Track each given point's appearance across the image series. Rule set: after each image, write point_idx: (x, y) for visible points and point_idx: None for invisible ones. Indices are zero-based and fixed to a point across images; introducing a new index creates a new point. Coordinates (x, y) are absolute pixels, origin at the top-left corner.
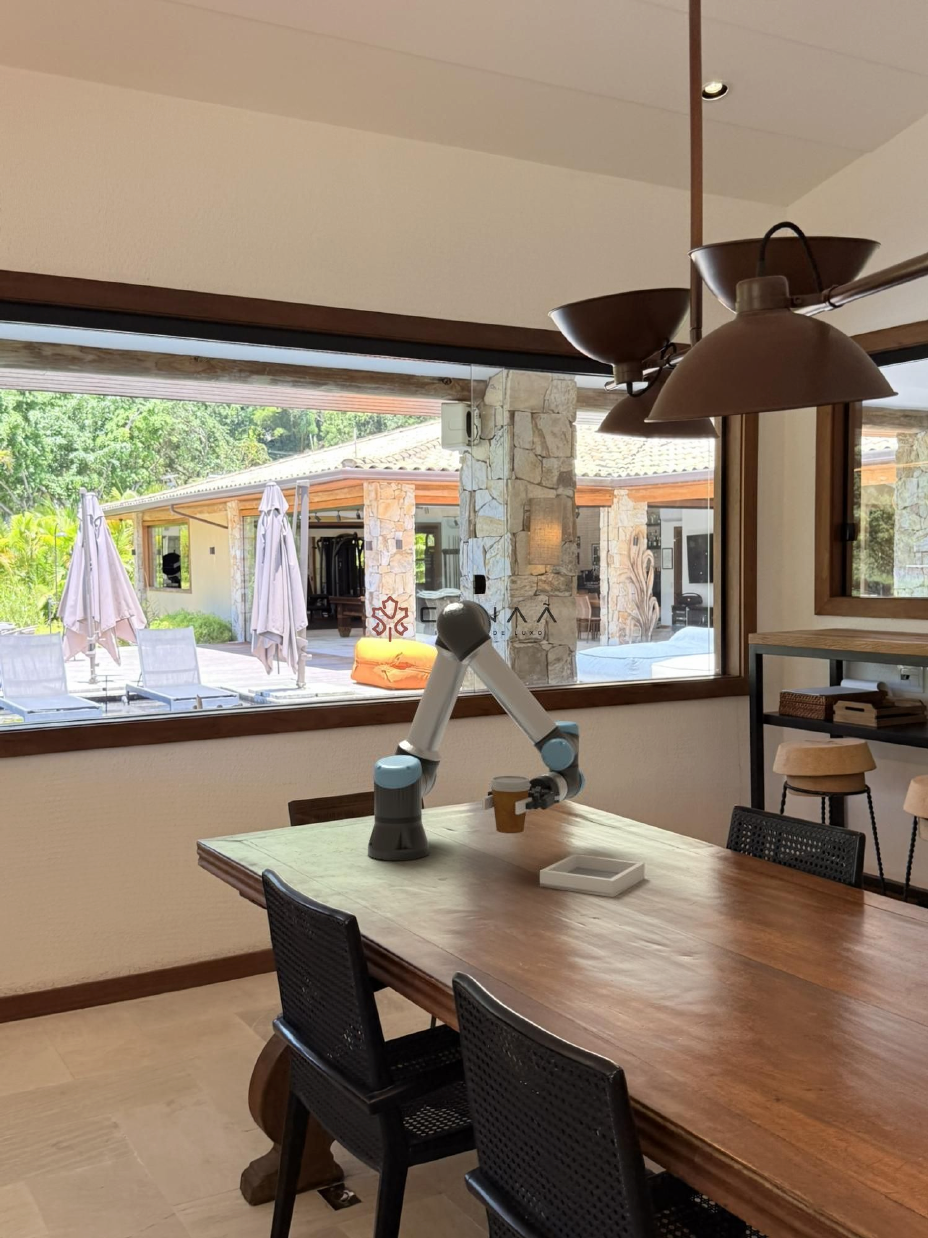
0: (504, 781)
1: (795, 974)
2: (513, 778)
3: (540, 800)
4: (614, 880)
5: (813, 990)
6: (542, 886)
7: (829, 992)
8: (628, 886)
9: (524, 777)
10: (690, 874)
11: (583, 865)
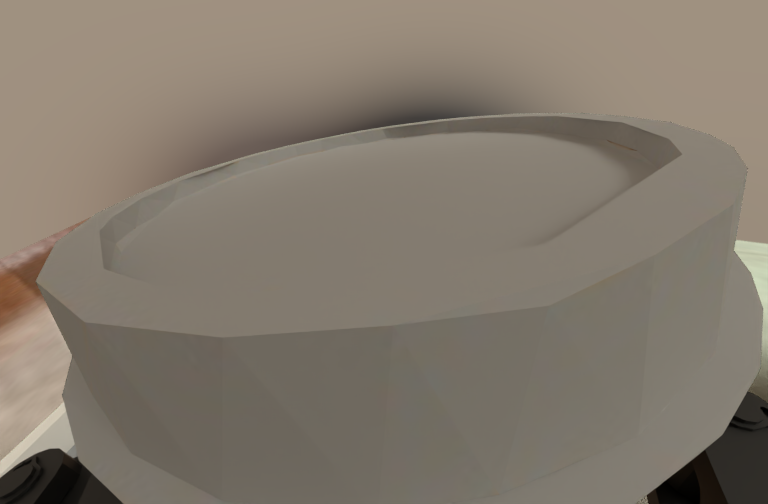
0: (405, 150)
1: (18, 282)
2: (436, 236)
3: (77, 495)
4: (63, 402)
5: (32, 267)
6: None
7: (20, 269)
8: None
9: (94, 293)
10: None
11: None
